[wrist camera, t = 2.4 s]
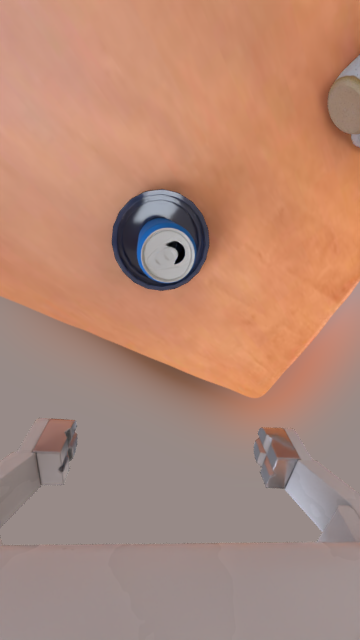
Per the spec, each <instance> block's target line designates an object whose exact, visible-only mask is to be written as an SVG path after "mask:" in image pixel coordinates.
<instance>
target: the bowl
mask: <svg viewBox="0 0 360 640" xmlns="http://www.w3.org/2000/svg"><path fill="white" fill-rule="evenodd" d="M155 218H165V219H169V220H171V221H173V222H174V223H176V224H178V225H180V226H182V227H183V228H185V229H186V230H187V231H188V232H189V233H190V234H191V236H192V238H193V240H194V242H195V245H196V260H195V263H194V266H193V268H192V269H191V271H190V272H189V273H188V275H186V276H185V277H184V278H183V279H181V280H179V281H177V282H173V283H160V282H157V281H154V280H152V279H151V278H149V277H148V276H147V275H146V274H145V273H144V272H143V271H142V269H141V267H140V265H139V263H138V259H137V245H138V237H139V233H140V231H141V229H142V227H143V226H144V225H145V224H146V223H147V222H148V221H150V220H152V219H155ZM112 246H113V251H114V255H115V259H116V261H117V262H118V264H119V266H120V268H121V269H122V271H123V272H124V273H125V274H126V275H127V276H128V277H129V278H130V279H131V280H132V281H133V282H135V283H137V284H139V285H141V286H143V287H145V288H147V289H153V290H160V291H163V290H169V289H175V288H177V287H179V286H181V285H184V284H186V283H188V282H189V281H190V280H191V279H192V278H193V277H194V276H195V275H196V274H197V273H198V272H199V271H200V269H201V267H202V266H203V264H204V262H205V260H206V257H207V253H208V248H209V233H208V227H207V225H206V222H205V219H204V217H203V215H202V213H201V212H200V211H199V209H198V208H197V207H196V206H195V204H194V203H193V202H192V201H190V200H189V199H187V198H186V197H184V196H183V195H181V194H180V193H177V192H173V191H168V190H164V189H159V190H151V191H145V192H143V193H141V194H139V195H138V196H136V197H134V198H132V199H131V200H130V201H129V202H128V203H127V204H126V205H125V206H124V207H123V208H122V209H121V210H120V212H119V214H118V216H117V219H116V221H115V223H114V226H113V234H112Z"/></svg>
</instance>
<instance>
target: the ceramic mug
mask: <svg viewBox="0 0 360 640" xmlns="http://www.w3.org/2000/svg"><path fill="white" fill-rule="evenodd" d="M328 111H329V115H330V117H331V119H332V121H333V123H334V124H335V125H336V127H338V128H339V129H340V130H341V131H343V132H345V133H348V134H351V139H352V141H353V144H354V145H355V146H357V147H360V55H359V56H358V57H357V58H356V59H355V60H354V61H353V62H351V63H350V64H349V65H348V66H347V67H346V68H345V69H344V70H343V72H342V73H341V74H340V75H339V76H338V78H337V79H336V80H335V82H334V83H333V85H332V86H331V88H330V91H329V94H328Z"/></svg>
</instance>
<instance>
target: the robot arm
mask: <svg viewBox="0 0 360 640" xmlns="http://www.w3.org/2000/svg"><path fill="white" fill-rule="evenodd" d="M76 427H77V424H76V421H75V420H64V419H47V418H38V419H37V420H36V421H35V422H34V424H33V425H32V427H31V429H30V430H29V432H28V434H27V435H26V437H25V439H24V440H23V442H22V444H21V445H20V447H19V449H18V451H17V452H12V453H11V454H9V455H8V456H6V457H5V458H3V459H2V460H0V528H1V527H2V526H3V524H5V523H6V522H7V521H8V519H10V517H12V516H13V515H14V513H15V512H16V511H17V510H18V509H19V508H20V507H21V506H22V505H23V504H24V503H25V502H26V501H27V500H28V499H29V498H30V497H31V496H32V495H33V494H34V493H35V492H36V491H37V490H38V489H39V488H40V487H41V485H64V483H65V480H66V477H67V474H68V472H69V462H70V461H71V460H72V459H73V457H74V454H75V451H76V447H77V434H76V433H75V430H76ZM258 435H259V438H258V439H257V440H256V441H255V444H254V455H255V459H256V462H257V463H258V465H260V466H261V467H262V469H261V472H260V473H261V476H262V478H263V481H264V484H265V487H266V488H283V489H285V491H286V492H287V493H288V494H289V495H290V496H291V497H292V498H293V500H294V501H295V502H296V503H297V504H298V505H299V506H300V507H301V509H302V510H303V511H304V512H305V513H306V514H307V515H308V516H309V518H310V519H311V520H312V521H313V522H314V523H315V524H316V525H317V527H318V528H319V529H320V530H321V531H322V533H321V535H320V537H319V538H318V540H317V542H274V543H273V542H267V543H171V544H170V543H169V544H73V545H2V541H1V537H0V640H360V494H359V493H357V492H356V491H355V490H354V489H352V488H351V487H350V486H349V485H347V484H346V483H345V482H343V481H342V480H341V479H340V478H338V477H337V476H336V475H334V474H333V473H332V472H331V471H329V470H328V469H327V468H325V467H324V466H323V465H322V464H320V463H319V462H318V461H316V460H313V459H312V458H311V456H310V454H309V452H308V451H307V449H306V448H305V446H304V444H303V443H302V441H301V439H300V437H299V436H298V434H297V432H296V431H295V430H294V429H293V428H265V427H264V428H263V427H261V428H260V429H259V431H258Z"/></svg>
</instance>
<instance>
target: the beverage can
mask: <svg viewBox="0 0 360 640" xmlns="http://www.w3.org/2000/svg"><path fill="white" fill-rule="evenodd" d="M137 259H138V263H139V265H140V267H141V269H142V271H143V272H144V273H145V274H146V275H147V276H148V277H149V278H151V279H152V280H154V281H157V282H160V283H173V282H177V281H179V280H181V279H183V278H184V277H185V276H186V275H188V273H189V272H190V271H191V269H192V268H193V266H194V263H195V260H196V245H195V242H194V240H193V238H192V236H191V234H190V233H189V232H188V231H187V230H186V229H185V228H183V227H182V226H180V225H178V224H176V223H174V222H173V221H171V220H169V219H165V218H155V219H152V220H150V221H148V222H147V223H146V224H145V225H144V226H143V227H142V229H141V231H140V233H139V237H138V245H137Z"/></svg>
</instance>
